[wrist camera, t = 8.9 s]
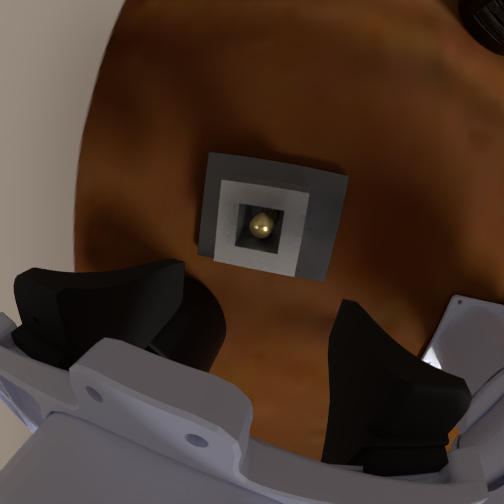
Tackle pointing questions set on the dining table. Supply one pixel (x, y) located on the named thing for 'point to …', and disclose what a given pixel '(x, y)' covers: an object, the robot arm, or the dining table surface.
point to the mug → (192, 330)
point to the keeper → (270, 220)
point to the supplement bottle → (485, 22)
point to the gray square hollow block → (238, 220)
